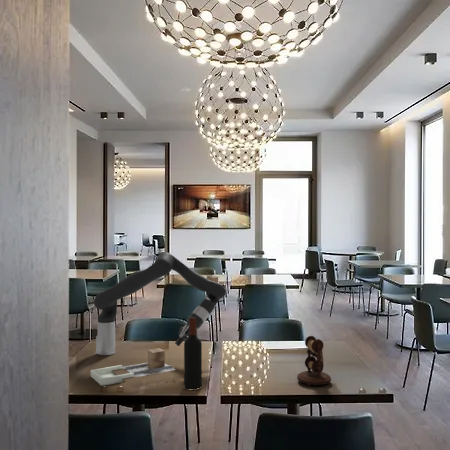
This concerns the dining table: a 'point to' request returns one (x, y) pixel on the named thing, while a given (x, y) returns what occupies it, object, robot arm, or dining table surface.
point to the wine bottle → (192, 358)
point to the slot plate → (147, 369)
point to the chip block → (156, 358)
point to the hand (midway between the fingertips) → (176, 344)
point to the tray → (109, 375)
